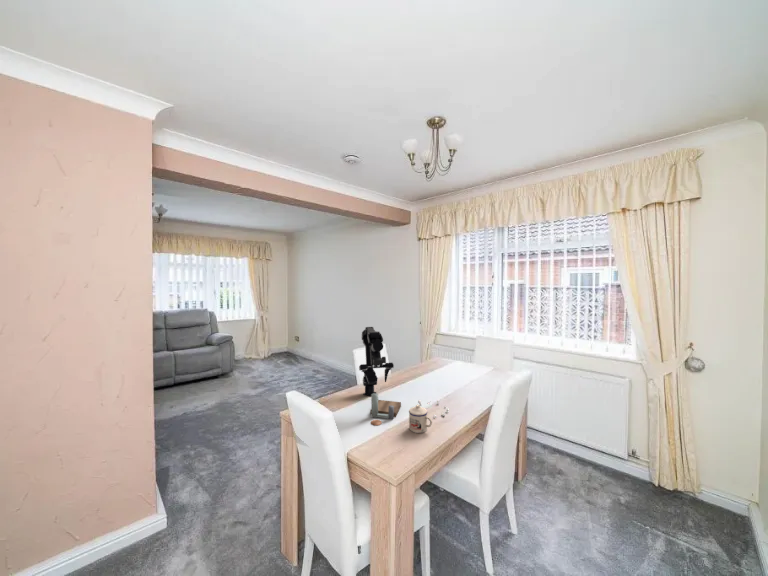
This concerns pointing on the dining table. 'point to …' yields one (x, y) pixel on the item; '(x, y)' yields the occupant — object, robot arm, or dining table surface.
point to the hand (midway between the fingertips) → (377, 382)
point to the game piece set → (437, 404)
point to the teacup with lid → (418, 419)
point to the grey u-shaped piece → (375, 408)
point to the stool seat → (386, 409)
